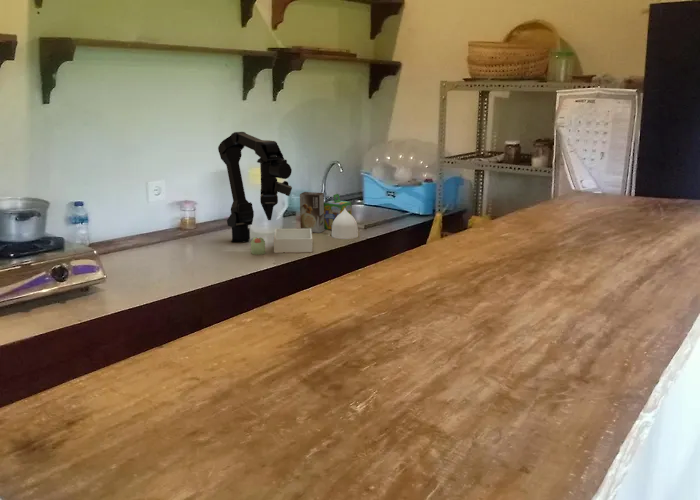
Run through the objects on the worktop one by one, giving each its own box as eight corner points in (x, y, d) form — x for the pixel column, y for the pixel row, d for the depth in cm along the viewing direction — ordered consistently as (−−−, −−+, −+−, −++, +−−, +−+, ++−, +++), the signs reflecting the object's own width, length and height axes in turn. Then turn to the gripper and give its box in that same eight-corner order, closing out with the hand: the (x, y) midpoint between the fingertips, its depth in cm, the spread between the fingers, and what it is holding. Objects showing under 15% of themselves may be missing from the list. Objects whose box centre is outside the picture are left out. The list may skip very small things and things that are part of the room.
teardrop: (353, 232, 286) (353, 204, 283) (361, 238, 276) (362, 209, 273) (328, 233, 283) (328, 205, 280) (335, 240, 273) (335, 210, 270)
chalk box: (341, 231, 287) (341, 197, 283) (323, 229, 291) (323, 195, 287) (352, 227, 294) (352, 193, 291) (334, 225, 299) (334, 192, 295)
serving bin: (274, 252, 252) (273, 239, 251) (275, 241, 269) (275, 228, 268) (312, 252, 254) (312, 238, 252) (311, 241, 270) (311, 228, 269)
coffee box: (325, 229, 290) (325, 192, 286) (320, 233, 284) (320, 195, 280) (305, 228, 292) (304, 191, 288) (299, 231, 286) (299, 193, 282)
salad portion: (250, 254, 249) (250, 239, 248) (251, 251, 254) (251, 236, 253) (264, 254, 250) (264, 239, 248) (265, 251, 255) (265, 236, 253)
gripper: (291, 179, 241) (292, 222, 245) (289, 172, 259) (290, 212, 263) (259, 179, 240) (261, 223, 244) (260, 172, 258) (261, 212, 262)
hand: (269, 217), depth 253 cm, fingers open, 9 cm apart
